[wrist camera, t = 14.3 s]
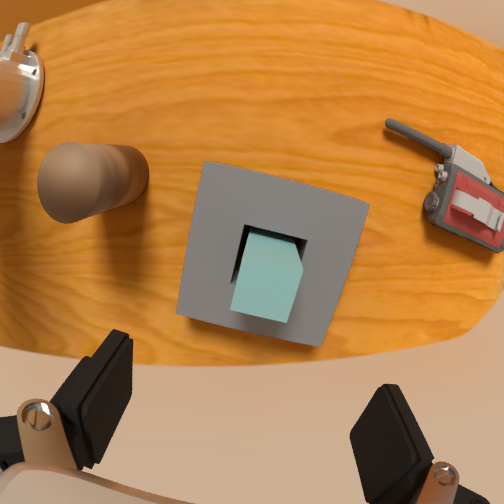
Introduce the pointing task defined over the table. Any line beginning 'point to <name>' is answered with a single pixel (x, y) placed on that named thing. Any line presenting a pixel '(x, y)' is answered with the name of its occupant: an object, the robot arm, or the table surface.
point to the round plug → (90, 179)
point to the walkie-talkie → (461, 193)
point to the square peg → (267, 275)
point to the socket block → (278, 220)
